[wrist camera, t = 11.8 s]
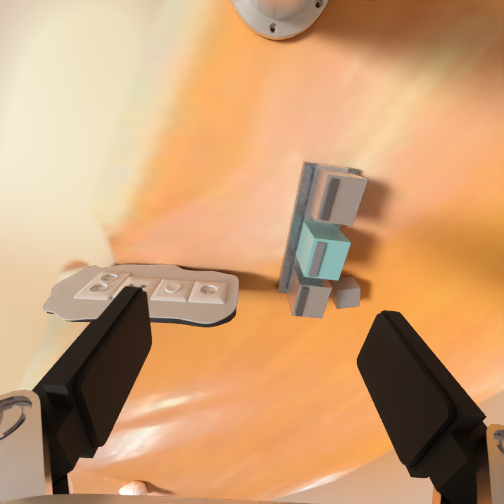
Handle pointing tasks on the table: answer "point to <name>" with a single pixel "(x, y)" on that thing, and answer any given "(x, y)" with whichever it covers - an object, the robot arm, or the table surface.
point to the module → (322, 250)
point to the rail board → (321, 211)
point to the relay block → (345, 292)
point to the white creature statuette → (134, 488)
